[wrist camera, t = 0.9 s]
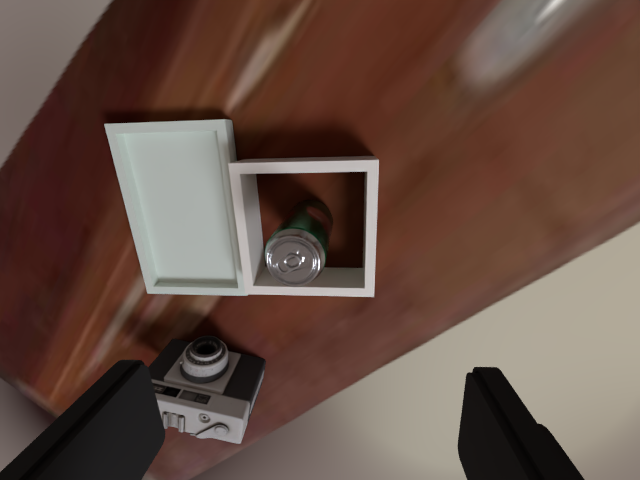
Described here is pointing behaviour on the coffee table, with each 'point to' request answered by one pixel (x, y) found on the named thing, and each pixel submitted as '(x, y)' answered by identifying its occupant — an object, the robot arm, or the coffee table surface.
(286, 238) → the soda can
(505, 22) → the coffee table surface
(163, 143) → the tray
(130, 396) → the robot arm
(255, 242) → the holder
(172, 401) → the camera
